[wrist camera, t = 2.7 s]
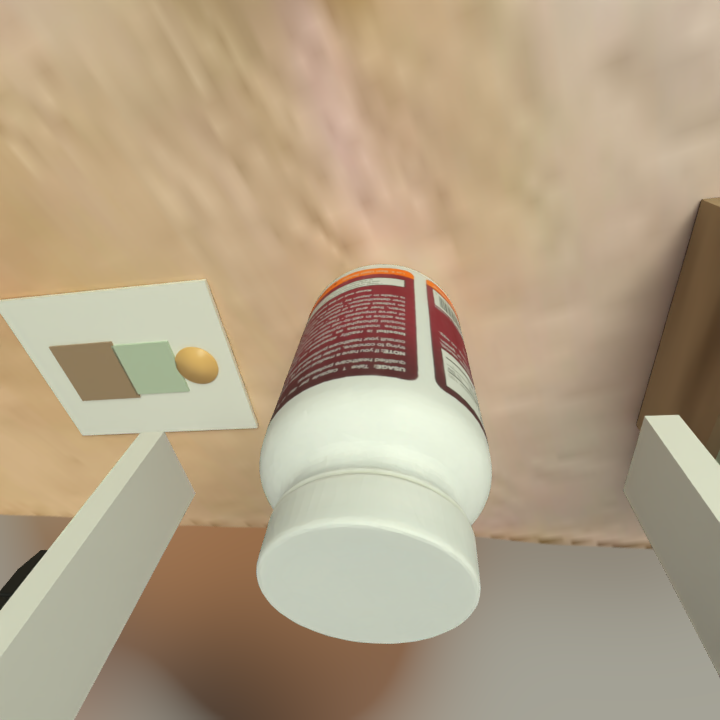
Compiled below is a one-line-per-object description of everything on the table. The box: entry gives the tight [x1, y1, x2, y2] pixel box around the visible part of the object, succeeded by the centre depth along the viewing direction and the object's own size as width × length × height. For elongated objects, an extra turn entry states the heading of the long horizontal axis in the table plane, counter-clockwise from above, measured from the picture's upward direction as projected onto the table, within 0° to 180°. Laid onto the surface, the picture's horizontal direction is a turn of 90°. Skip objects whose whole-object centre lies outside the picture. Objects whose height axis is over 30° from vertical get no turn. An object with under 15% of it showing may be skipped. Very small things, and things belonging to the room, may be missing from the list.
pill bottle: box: [256, 264, 492, 644], centre depth 13 cm, size 6×6×11 cm
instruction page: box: [0, 279, 258, 435], centre depth 20 cm, size 10×8×1 cm
